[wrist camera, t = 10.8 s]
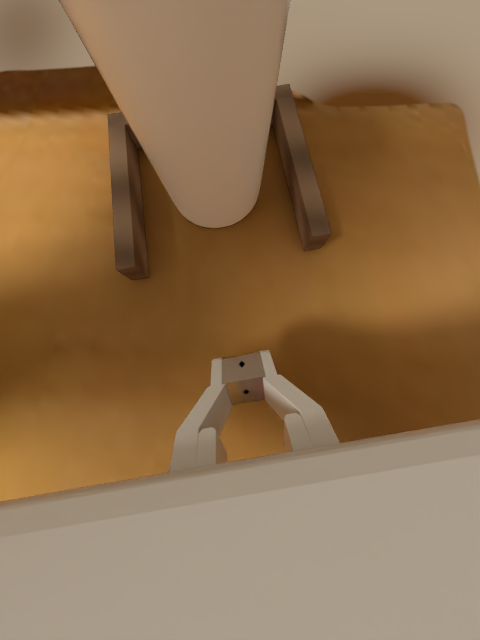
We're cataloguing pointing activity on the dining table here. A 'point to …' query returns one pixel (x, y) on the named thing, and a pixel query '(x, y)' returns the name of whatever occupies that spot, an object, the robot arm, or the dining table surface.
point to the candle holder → (192, 91)
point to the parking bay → (130, 196)
